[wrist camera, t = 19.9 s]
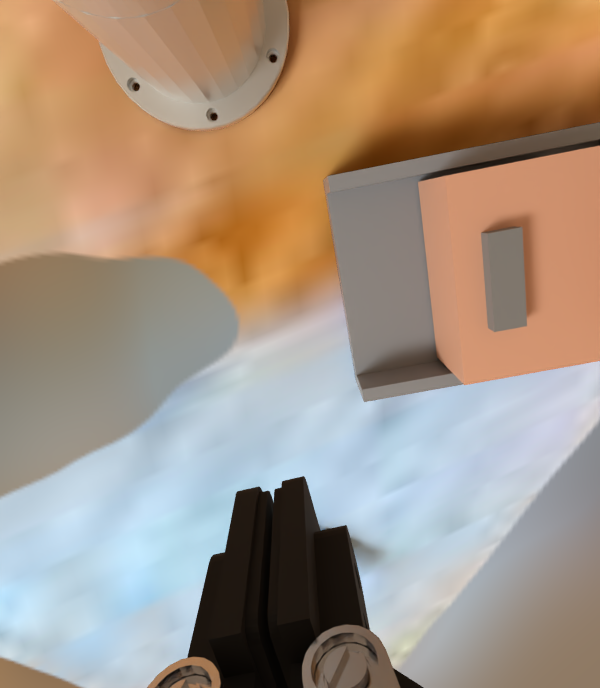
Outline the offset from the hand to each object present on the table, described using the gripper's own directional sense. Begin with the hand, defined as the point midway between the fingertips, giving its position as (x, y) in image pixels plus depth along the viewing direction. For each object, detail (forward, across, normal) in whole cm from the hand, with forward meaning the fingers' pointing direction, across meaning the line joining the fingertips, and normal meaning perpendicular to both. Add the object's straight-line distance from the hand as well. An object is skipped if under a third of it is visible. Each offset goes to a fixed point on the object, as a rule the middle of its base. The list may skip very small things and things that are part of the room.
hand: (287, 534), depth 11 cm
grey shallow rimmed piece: (+26, -14, 0) cm, 30 cm away
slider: (+25, -15, 0) cm, 29 cm away
